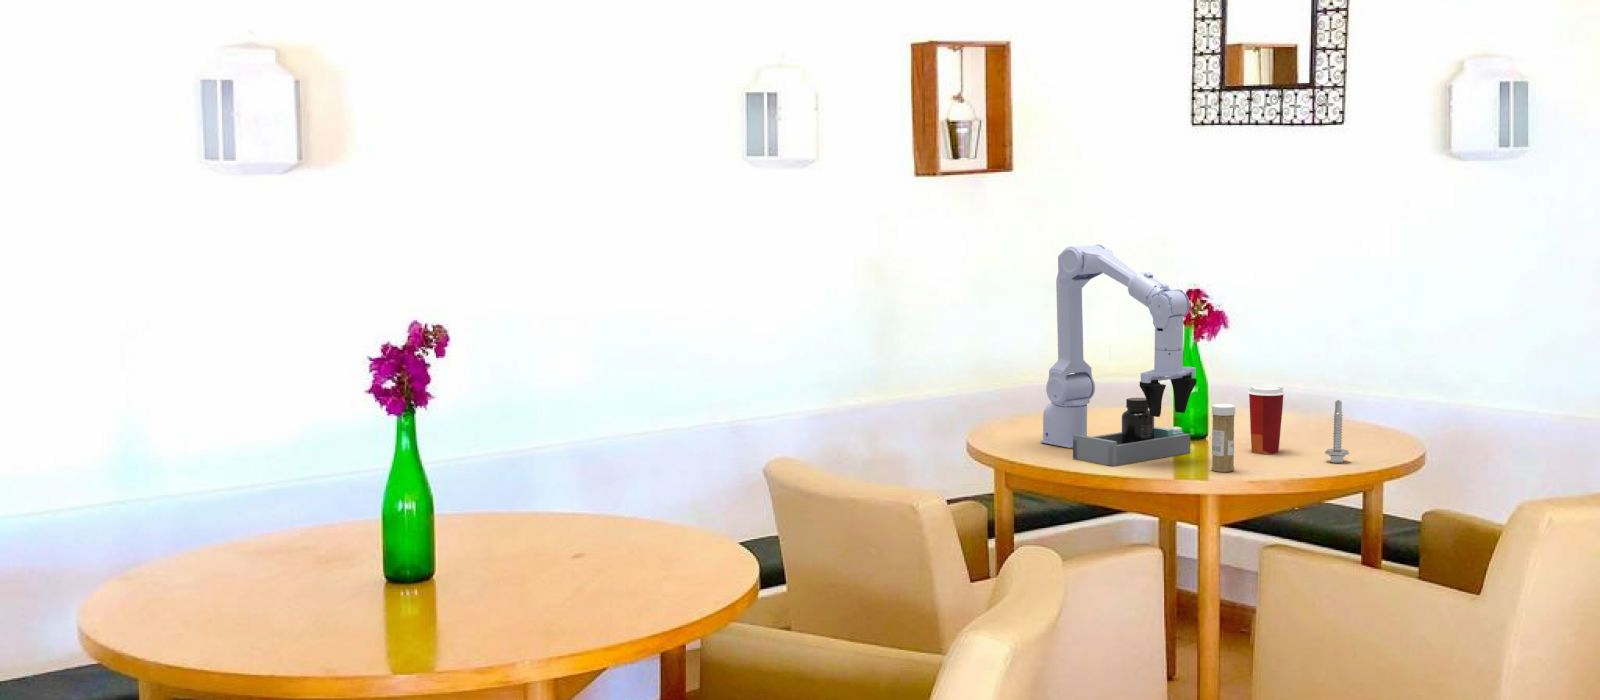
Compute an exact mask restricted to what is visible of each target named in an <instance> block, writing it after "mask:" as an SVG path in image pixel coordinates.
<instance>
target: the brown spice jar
mask: <svg viewBox="0 0 1600 700" xmlns="http://www.w3.org/2000/svg"><path fill="white" fill-rule="evenodd" d="M1235 415H1236V406H1235V405H1234V404H1232V403H1231V404H1230V403H1215V404H1212V405H1211V416H1212V431H1211V433H1212V434H1211V435H1212V436H1211V454H1212V457H1211V458H1212V459H1211V460H1212V461H1211V471H1214V472H1218V473H1230V472H1233V471H1235V467H1234V465H1235V464H1234V463H1235V462H1234V460H1235V459H1234V456H1235Z"/></svg>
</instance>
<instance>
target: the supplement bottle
mask: <svg viewBox="0 0 1600 700" xmlns="http://www.w3.org/2000/svg"><path fill="white" fill-rule="evenodd" d="M1125 404H1126V405H1125V408H1126V410H1125V411H1124V412H1123V413H1122V415H1121V432H1122V444H1126V443H1132V442H1138V441H1144V440H1150V439H1154V427H1155V416H1151V415H1150V411H1149V407H1148V403H1147V400H1146V397H1127V398H1126V401H1125Z"/></svg>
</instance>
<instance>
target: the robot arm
mask: <svg viewBox="0 0 1600 700" xmlns="http://www.w3.org/2000/svg"><path fill="white" fill-rule="evenodd" d="M1057 270H1058V271H1057V276H1056V282H1055V284H1056V288H1055V290H1056V323H1057V324H1056V326H1057V327H1056V328H1057V331H1056V333H1057V358H1058V359H1057V361H1056V362H1055V363H1054V364H1053V365H1052V366H1051V367H1050V368H1049V370H1048V378H1047V382H1046V387H1045V388H1046V392H1045V393H1046V395H1047V398H1048V400H1049V401H1050V403H1048V404H1047V405H1046V407H1044V410H1043V416H1042V439H1040V441H1039V442H1040V443H1042V444H1046V445H1047V444H1048V445H1053V446H1056V447H1063V448H1069V449H1073V435H1083V436H1087V435H1088V404H1090V400H1091V399H1092V398H1093V397H1094V395H1095V392H1096V384H1095V380H1094V378H1093V375H1092V371H1093V369H1092V366H1091V365H1089V363H1087V362H1086V361H1085V359H1084V327H1083V326H1084V325H1083V322H1084V321H1083V318H1084V317H1083V288H1084V287H1085V286H1086V285H1087V284H1088V282H1090V281H1091V280H1092V279H1094V278H1096V277H1098V276H1100V275H1102V274H1103V275H1106V276H1108V277H1109V278H1111V279H1112V280H1114V281H1116V282H1118V283H1120V284H1122V285H1123V286H1125V287H1127V291H1128V294H1129V296H1131V298H1133V299H1134V300H1137V301H1138V302H1139V303H1141V304H1142V305H1143V306H1145V307H1146V308H1148V310H1149V313H1150V315H1151V317H1152V325H1153V327H1154V358H1153V359H1154V362H1153V363H1154V368H1153V369H1151V370H1148V371H1145V372H1140V381H1139V387H1140V389H1141V391H1142V393H1143V395H1144V398H1146V400H1147V403H1148V407H1149V408H1148V410H1149V411H1150V415H1151V416H1154V418H1155V417H1157V418H1160V417H1161V414H1162V403H1163V396H1164V393H1165V390H1166V387H1167V385H1166V384H1163V383H1161V381H1167V380H1170V383H1171V385H1172V390H1173V400H1174V401H1173V402H1174V403H1173V404H1174V411H1175V413H1179V414H1180V413H1181V414H1184V413H1186V410H1187V408H1188V407H1187V406H1188V403H1189V399H1190V396H1191V393H1192V392H1193V390H1194V388H1195V387H1196V385H1197V384H1198V383H1197V381H1198V378H1196V372H1197V371H1196V367H1192V366H1184V365H1183V361H1184V360H1183V359H1184V356H1183V355H1184V354H1183V353H1184V317H1185V316H1186V315H1187V314H1188V313H1189V311H1190V305H1191V303H1190V299H1189V296H1188V295H1187V293H1185V292H1184V291H1183V290H1182V289H1179V288H1176V289H1171V288H1170V287H1169V286H1170V285H1168V284H1166V283H1162V282H1160V281H1159V280H1158V279H1156V278H1154V274H1153V273H1152V272H1144V271H1143V272H1139V273H1137V272H1136V271H1135V270H1133V269H1132V268H1131V267H1129V266H1128V265H1127V264H1125V263H1124V262H1123V261H1122V260H1120V259H1119V258H1118V257H1117V256H1115V255H1114V253H1113V250H1111V249H1110V248H1107V247H1106V246H1105V245H1102V244H1095V245H1084V246H1083V245H1082V246H1081V245H1080V246H1067V247H1065V249H1064V250H1062V251H1061V252H1060V253H1059V255H1058V256H1057Z"/></svg>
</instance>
